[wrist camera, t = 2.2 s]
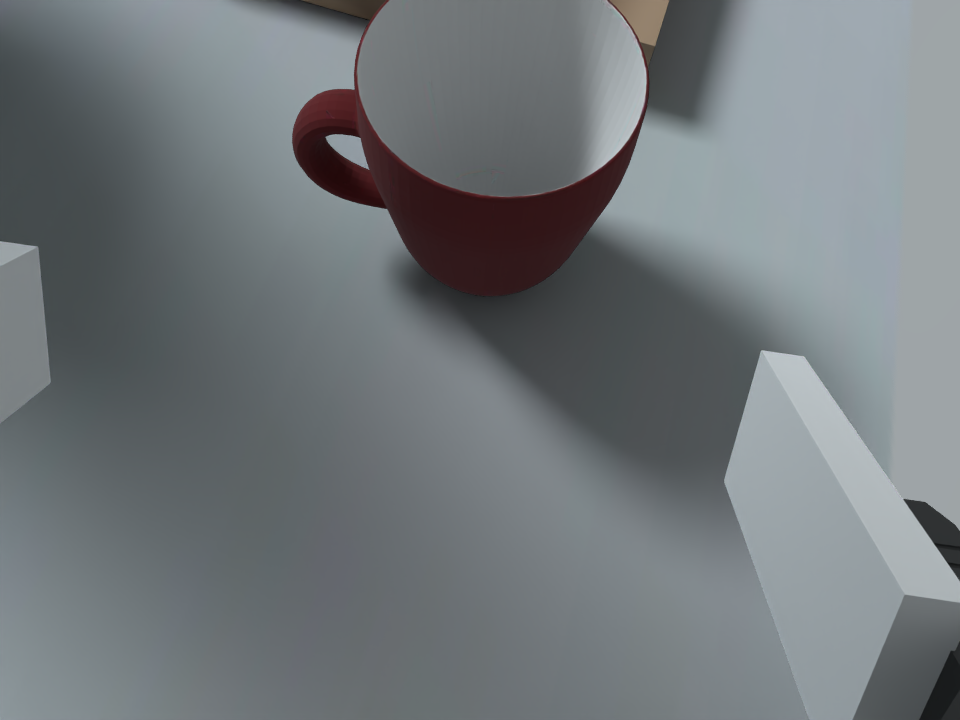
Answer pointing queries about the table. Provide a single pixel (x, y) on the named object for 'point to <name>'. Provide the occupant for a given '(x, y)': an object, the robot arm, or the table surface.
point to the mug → (485, 131)
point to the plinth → (638, 3)
